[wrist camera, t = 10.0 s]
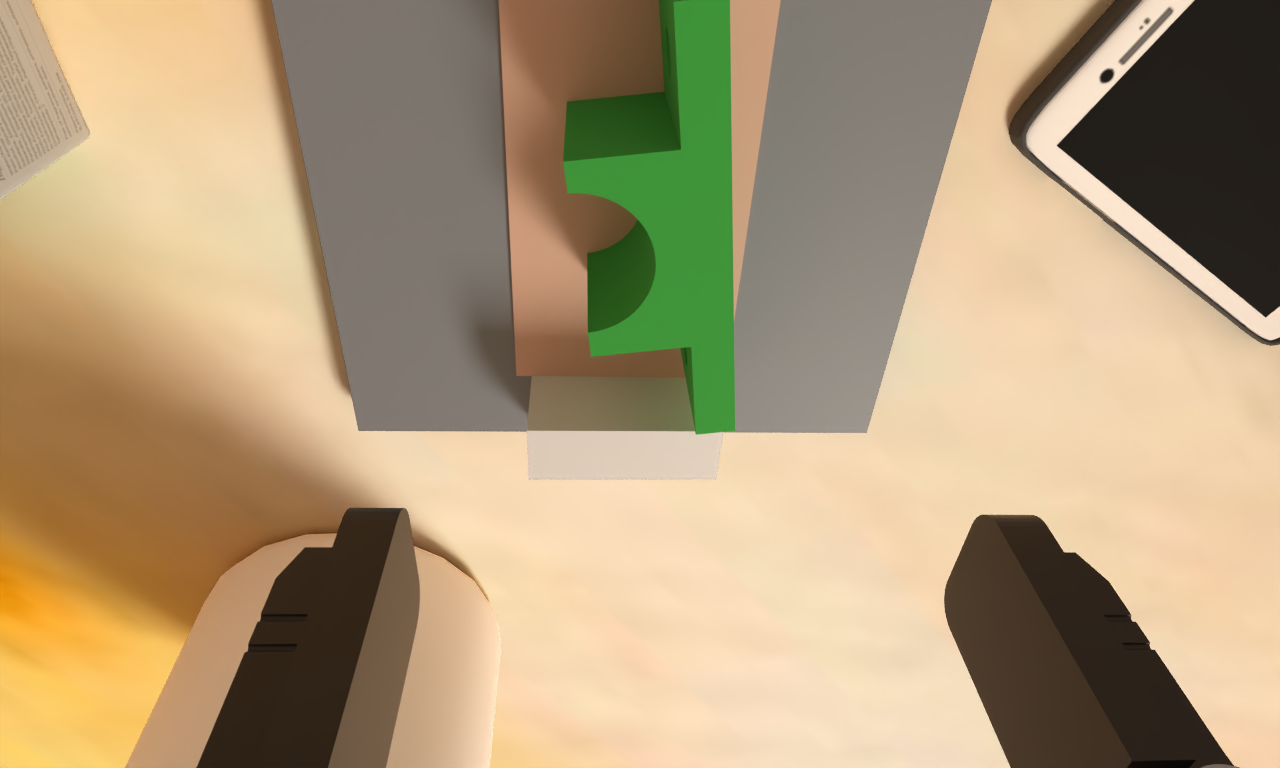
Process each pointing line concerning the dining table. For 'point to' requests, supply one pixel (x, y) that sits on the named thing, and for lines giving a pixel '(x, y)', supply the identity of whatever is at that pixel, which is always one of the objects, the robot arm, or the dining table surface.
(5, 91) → the small box
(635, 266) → the pipe clamp
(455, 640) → the can
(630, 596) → the dining table surface
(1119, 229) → the cell phone
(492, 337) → the end holder
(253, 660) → the robot arm
